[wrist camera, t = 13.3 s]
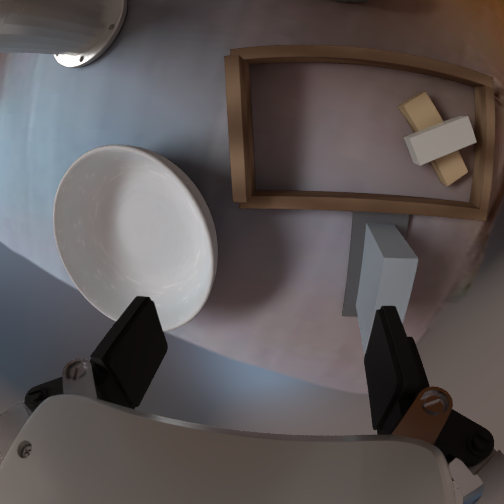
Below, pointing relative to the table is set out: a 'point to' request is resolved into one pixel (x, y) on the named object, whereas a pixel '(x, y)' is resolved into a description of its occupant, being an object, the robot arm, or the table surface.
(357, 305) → the light grey block
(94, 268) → the serving bowl
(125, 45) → the table surface
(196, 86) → the table surface
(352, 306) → the mat
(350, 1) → the rock
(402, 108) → the offcut lower
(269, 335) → the table surface
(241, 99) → the wooden tray
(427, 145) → the offcut upper
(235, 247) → the table surface
